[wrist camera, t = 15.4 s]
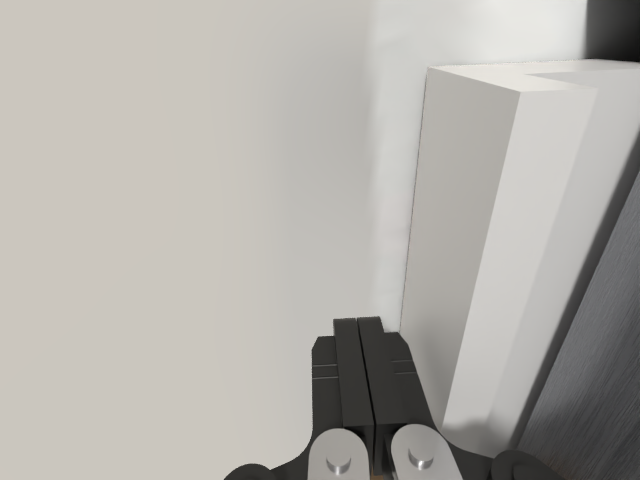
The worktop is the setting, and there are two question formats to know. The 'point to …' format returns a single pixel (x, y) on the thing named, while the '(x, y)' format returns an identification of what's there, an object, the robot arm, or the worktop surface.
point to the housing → (597, 371)
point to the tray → (510, 230)
